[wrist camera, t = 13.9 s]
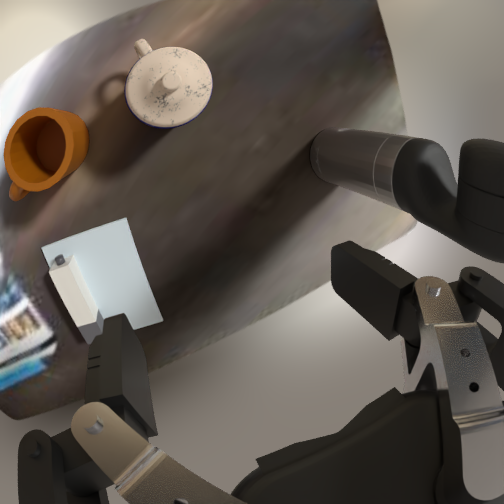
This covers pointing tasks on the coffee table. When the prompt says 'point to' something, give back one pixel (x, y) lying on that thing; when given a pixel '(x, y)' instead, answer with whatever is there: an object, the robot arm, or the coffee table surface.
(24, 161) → the mug
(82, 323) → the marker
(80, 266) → the paper pad
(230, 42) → the coffee table surface
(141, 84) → the teacup with lid
